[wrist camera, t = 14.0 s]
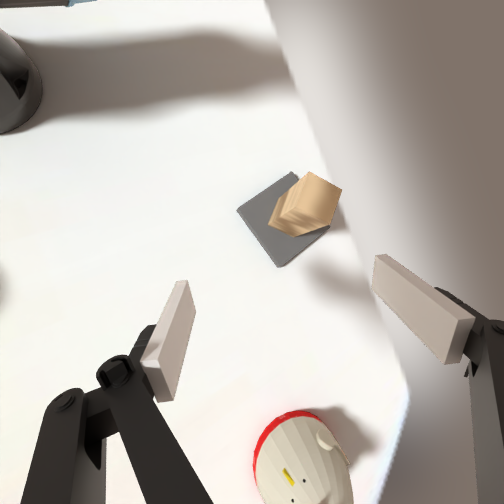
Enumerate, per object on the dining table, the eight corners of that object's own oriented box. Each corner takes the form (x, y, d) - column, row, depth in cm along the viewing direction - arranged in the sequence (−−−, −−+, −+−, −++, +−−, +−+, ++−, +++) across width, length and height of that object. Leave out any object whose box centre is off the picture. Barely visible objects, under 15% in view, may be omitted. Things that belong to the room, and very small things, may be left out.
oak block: (267, 224, 39) (295, 206, 28) (278, 198, 40) (309, 171, 29) (293, 237, 40) (330, 224, 29) (303, 211, 41) (342, 189, 30)
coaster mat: (236, 210, 39) (238, 208, 38) (288, 174, 42) (291, 171, 41) (277, 267, 40) (280, 267, 39) (325, 228, 43) (330, 227, 42)
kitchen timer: (288, 393, 39) (344, 465, 24) (345, 439, 40) (430, 531, 26) (234, 474, 36) (263, 612, 21) (299, 519, 37) (367, 676, 23)
